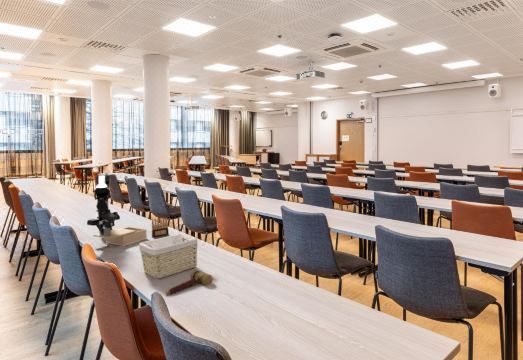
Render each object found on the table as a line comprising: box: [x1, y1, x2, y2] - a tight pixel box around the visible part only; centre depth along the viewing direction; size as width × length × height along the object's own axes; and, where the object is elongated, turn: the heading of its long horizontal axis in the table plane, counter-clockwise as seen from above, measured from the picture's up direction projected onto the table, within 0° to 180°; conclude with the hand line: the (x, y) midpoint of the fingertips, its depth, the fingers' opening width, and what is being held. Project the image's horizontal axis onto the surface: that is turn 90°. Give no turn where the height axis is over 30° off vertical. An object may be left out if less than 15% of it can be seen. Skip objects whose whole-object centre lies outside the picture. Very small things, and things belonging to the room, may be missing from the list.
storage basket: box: [138, 233, 199, 279], centre depth 181 cm, size 24×16×15 cm
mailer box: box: [105, 226, 148, 247], centre depth 236 cm, size 16×18×6 cm
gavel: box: [165, 269, 213, 296], centre depth 160 cm, size 21×5×10 cm
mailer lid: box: [93, 227, 136, 239], centre depth 228 cm, size 16×18×5 cm
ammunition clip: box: [151, 217, 170, 239], centre depth 245 cm, size 11×2×12 cm, turn 122°
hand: (105, 233), depth 222 cm, fingers closed on mailer lid, 3 cm apart
